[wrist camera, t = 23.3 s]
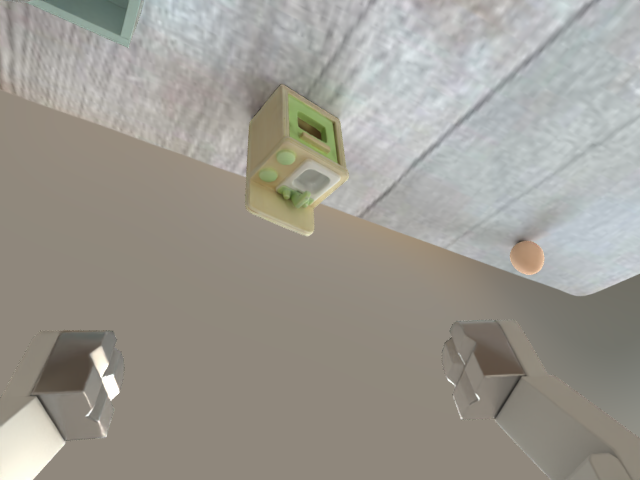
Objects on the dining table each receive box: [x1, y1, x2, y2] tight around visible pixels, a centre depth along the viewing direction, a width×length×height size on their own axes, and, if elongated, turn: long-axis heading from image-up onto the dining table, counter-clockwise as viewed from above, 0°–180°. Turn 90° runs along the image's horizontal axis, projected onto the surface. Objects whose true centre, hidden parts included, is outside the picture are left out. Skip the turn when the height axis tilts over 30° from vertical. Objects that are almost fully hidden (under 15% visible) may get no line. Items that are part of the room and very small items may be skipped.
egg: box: [510, 241, 544, 275], centre depth 72 cm, size 5×5×6 cm
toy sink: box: [245, 84, 349, 236], centre depth 46 cm, size 8×7×13 cm
